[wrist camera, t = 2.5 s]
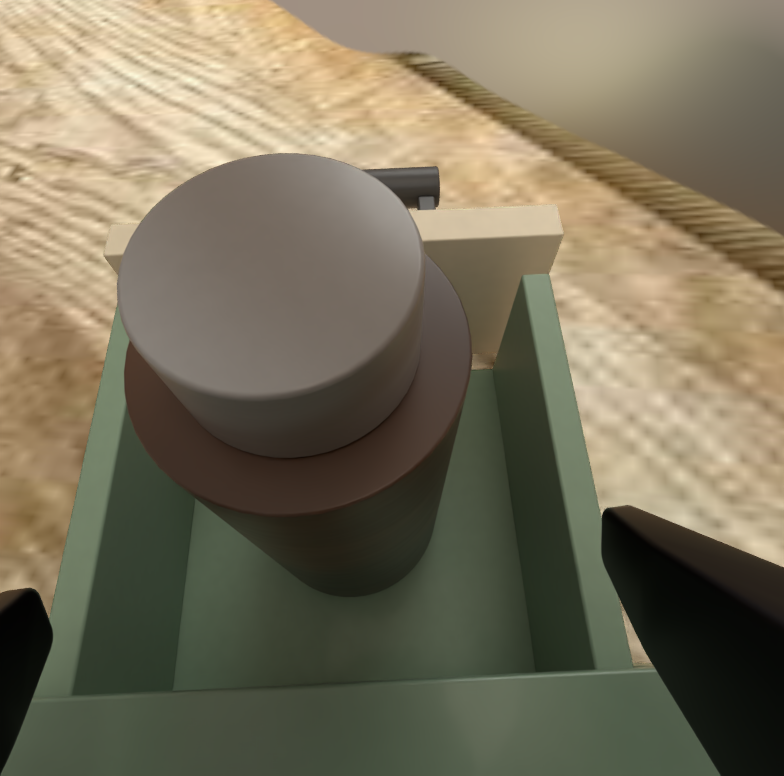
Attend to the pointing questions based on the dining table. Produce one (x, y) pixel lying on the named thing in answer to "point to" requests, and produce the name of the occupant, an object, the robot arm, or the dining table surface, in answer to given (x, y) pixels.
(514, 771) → the cabinet
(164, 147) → the dining table surface
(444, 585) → the drawer
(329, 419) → the pepper mill
